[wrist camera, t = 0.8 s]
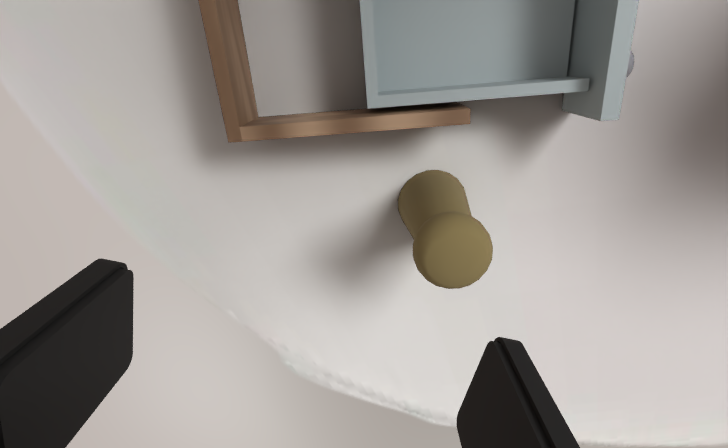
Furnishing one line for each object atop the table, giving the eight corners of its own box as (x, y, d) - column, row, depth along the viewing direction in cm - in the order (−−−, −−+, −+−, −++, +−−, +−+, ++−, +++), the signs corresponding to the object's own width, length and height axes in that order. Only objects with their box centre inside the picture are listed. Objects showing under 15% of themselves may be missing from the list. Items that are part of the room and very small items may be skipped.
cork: (392, 177, 34) (401, 228, 24) (462, 163, 33) (502, 209, 23) (403, 239, 36) (416, 310, 26) (469, 227, 36) (509, 295, 26)
